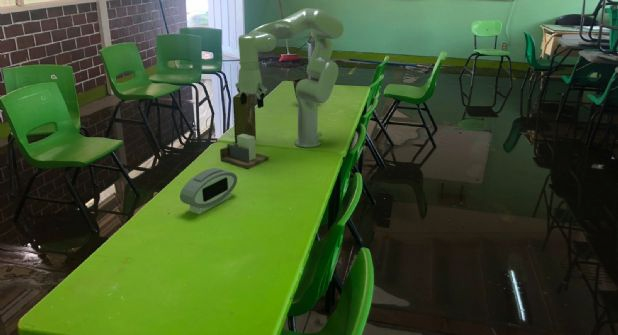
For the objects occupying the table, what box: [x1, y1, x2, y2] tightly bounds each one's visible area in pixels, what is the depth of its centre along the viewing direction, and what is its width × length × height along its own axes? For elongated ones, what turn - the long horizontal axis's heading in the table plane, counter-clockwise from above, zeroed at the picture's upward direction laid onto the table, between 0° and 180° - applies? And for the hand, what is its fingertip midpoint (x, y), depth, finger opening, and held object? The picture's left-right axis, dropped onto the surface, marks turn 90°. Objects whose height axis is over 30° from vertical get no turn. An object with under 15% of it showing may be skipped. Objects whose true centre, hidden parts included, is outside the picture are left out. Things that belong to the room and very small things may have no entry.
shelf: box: [219, 142, 270, 170], centre depth 212 cm, size 14×16×8 cm
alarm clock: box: [179, 167, 238, 215], centre depth 171 cm, size 23×6×13 cm, turn 148°
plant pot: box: [292, 78, 317, 103], centre depth 297 cm, size 15×15×16 cm
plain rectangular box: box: [237, 134, 257, 161], centre depth 210 cm, size 4×7×10 cm, turn 53°
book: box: [232, 92, 257, 144], centre depth 230 cm, size 16×6×25 cm, turn 168°
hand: (252, 105), depth 205 cm, fingers open, 9 cm apart
